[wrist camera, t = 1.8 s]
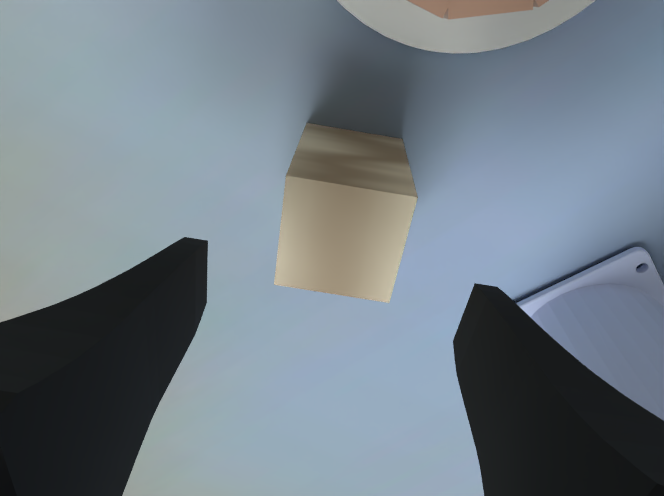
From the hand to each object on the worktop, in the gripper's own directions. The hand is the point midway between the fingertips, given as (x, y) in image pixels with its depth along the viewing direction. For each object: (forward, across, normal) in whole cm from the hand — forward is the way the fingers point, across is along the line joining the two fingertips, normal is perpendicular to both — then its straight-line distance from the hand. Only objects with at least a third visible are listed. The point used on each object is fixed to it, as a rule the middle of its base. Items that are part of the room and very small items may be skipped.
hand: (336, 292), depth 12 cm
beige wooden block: (+9, 0, 0) cm, 9 cm away
